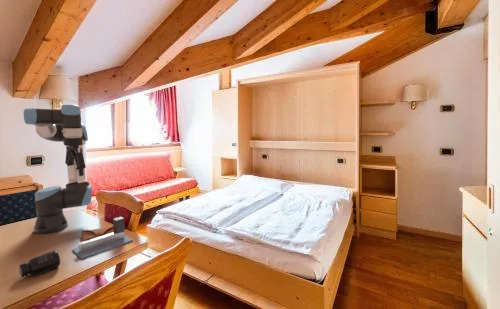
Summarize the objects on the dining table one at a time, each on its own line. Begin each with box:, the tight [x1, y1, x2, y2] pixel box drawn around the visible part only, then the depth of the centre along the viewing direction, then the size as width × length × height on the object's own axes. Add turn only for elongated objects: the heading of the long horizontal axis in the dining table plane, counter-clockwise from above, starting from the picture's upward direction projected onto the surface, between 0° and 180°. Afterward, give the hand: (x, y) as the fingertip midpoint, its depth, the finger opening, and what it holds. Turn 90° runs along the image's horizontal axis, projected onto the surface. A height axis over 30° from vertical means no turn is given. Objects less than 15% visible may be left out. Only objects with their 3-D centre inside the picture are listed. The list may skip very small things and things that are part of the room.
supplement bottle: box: [18, 250, 61, 278], centre depth 103 cm, size 7×7×12 cm
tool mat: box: [72, 234, 134, 260], centre depth 126 cm, size 12×23×1 cm, turn 141°
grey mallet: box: [77, 216, 126, 253], centre depth 125 cm, size 4×20×11 cm, turn 141°
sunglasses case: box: [80, 226, 114, 243], centre depth 137 cm, size 18×7×7 cm, turn 115°
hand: (76, 180), depth 127 cm, fingers open, 13 cm apart
